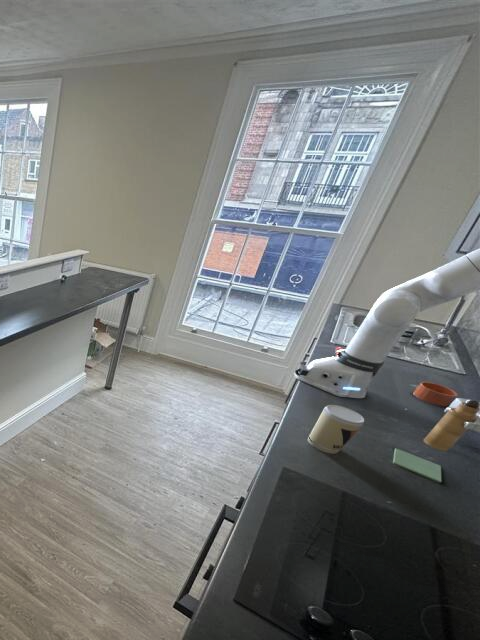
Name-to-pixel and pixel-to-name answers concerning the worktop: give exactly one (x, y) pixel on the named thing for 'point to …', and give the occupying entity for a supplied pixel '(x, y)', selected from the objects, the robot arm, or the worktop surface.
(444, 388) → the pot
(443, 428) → the pepper mill
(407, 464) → the plate
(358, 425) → the coffee cup
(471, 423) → the robot arm
